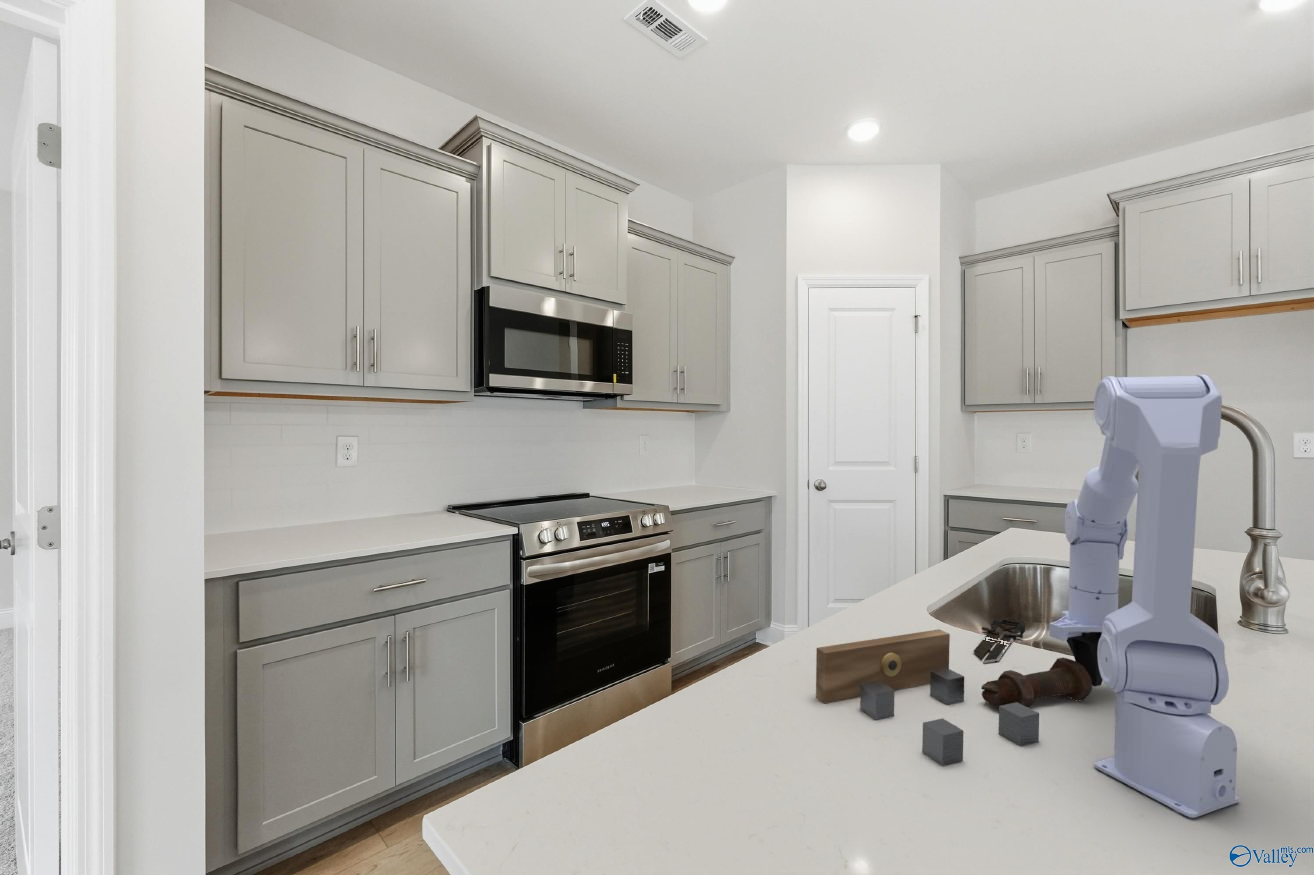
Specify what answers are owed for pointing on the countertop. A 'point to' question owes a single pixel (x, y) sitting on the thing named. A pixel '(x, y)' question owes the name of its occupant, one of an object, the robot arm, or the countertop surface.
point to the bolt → (1039, 684)
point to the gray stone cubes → (940, 734)
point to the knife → (999, 648)
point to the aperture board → (880, 663)
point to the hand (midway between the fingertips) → (1090, 683)
